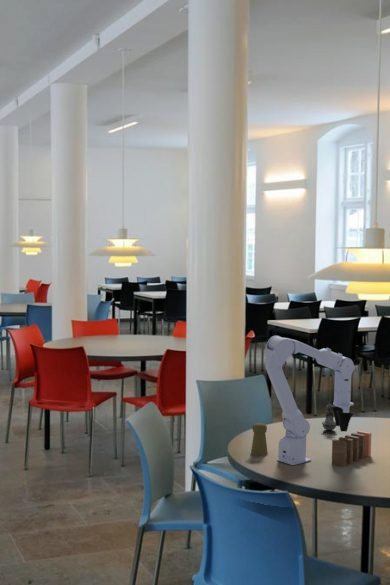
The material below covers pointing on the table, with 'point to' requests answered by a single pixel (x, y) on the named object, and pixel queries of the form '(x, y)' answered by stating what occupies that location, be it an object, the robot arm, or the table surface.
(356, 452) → the tile
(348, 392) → the robot arm
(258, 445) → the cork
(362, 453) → the tile
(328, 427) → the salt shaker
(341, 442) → the tile
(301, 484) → the table surface
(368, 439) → the tile
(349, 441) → the tile
